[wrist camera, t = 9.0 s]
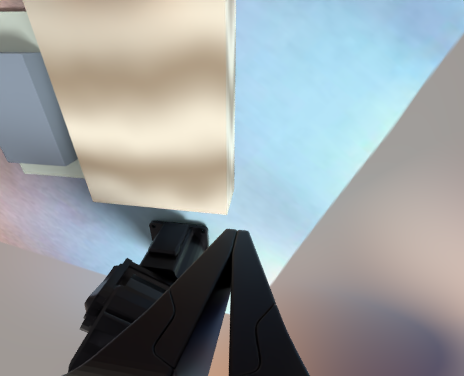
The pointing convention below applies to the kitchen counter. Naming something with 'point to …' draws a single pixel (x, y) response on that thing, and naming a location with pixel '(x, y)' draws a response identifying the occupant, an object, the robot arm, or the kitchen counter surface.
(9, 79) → the grey-blue rectangular block
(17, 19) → the mat
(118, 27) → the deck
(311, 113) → the kitchen counter surface
